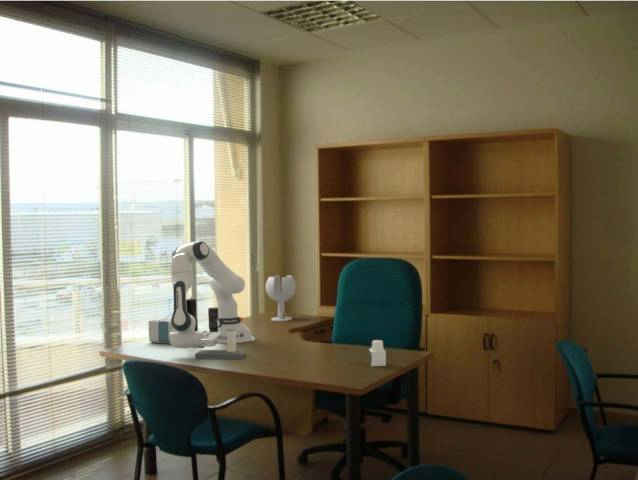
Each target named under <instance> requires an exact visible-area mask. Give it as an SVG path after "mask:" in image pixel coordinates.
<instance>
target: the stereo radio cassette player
mask: <svg viewBox="0 0 638 480" xmlns="http://www.w3.org/2000/svg"><path fill="white" fill-rule="evenodd" d="M172 315H173V313H172V314H169V315H168V316H166V317H164V318H155V319H150V320H148V340H149V342H151V343H152V342H153V343H158V344H170V341H169V334H170V333H171V332H172V330H173V329H174V328H173V326H172V324H171V318H170V319H167V318H169V317H172ZM170 345H171V344H170Z"/></svg>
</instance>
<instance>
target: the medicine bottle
mask: <svg viewBox="0 0 638 480" xmlns="http://www.w3.org/2000/svg"><path fill="white" fill-rule="evenodd" d="M368 363H369V364H370V366H371V367H386V366H387V352H386V350H385V349H384V340H382V339H376V338H375V339H372V340H370V348H369V349H368Z"/></svg>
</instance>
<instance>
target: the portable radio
mask: <svg viewBox="0 0 638 480" xmlns="http://www.w3.org/2000/svg"><path fill="white" fill-rule="evenodd" d="M186 308H187V312H188V313H189V314H190V315H192V316H193V317H194V318H195V320H196V326H195V331H199V330H198V318H197V299H196V298H192V297H190V298H186Z"/></svg>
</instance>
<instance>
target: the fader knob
mask: <svg viewBox="0 0 638 480" xmlns="http://www.w3.org/2000/svg"><path fill="white" fill-rule="evenodd" d="M226 344H227V345H226V346H227V349H226V350H227V352H235V351H236V350H237V343H236V328H228V329H227V343H226Z"/></svg>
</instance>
